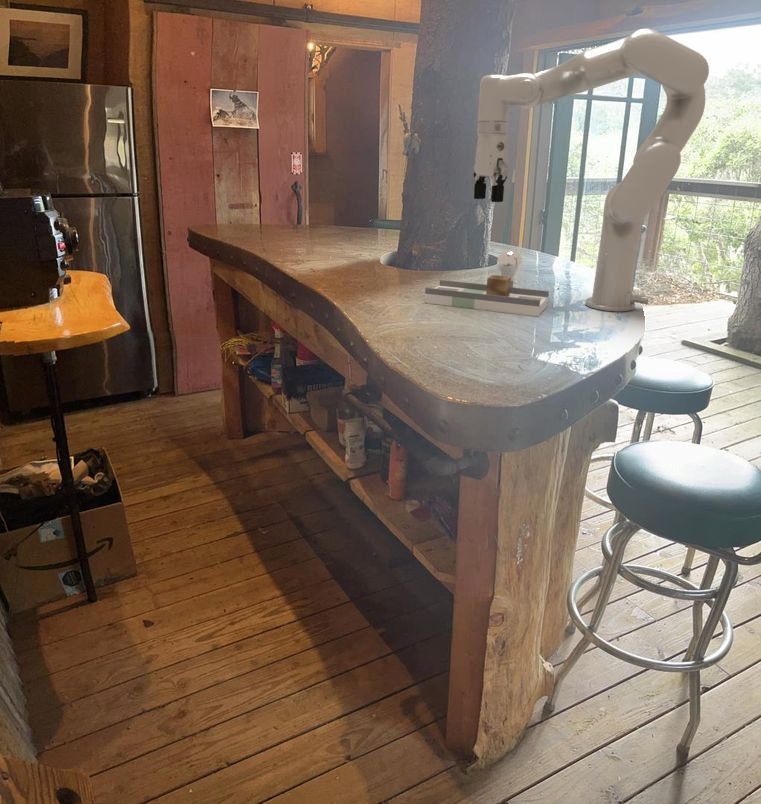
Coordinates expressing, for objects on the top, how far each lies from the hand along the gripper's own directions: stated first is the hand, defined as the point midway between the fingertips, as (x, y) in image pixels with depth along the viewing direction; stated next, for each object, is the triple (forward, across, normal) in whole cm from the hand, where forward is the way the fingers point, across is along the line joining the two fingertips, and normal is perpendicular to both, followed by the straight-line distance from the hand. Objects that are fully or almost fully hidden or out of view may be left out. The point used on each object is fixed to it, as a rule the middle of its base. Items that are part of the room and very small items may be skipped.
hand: (488, 200), depth 170 cm
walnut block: (+23, -10, +1) cm, 25 cm away
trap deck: (+26, -8, +3) cm, 27 cm away
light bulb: (+26, +5, -11) cm, 29 cm away
